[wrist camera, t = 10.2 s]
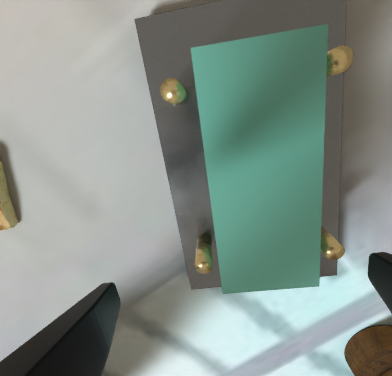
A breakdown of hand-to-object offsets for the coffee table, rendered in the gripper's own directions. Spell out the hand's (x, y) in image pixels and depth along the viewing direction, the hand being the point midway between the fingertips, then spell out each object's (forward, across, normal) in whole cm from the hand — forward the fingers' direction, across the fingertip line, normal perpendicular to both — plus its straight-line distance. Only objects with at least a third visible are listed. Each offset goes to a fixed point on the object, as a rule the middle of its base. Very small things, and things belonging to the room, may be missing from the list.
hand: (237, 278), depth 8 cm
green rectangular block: (+9, -2, -2) cm, 10 cm away
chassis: (+11, -2, -2) cm, 11 cm away
